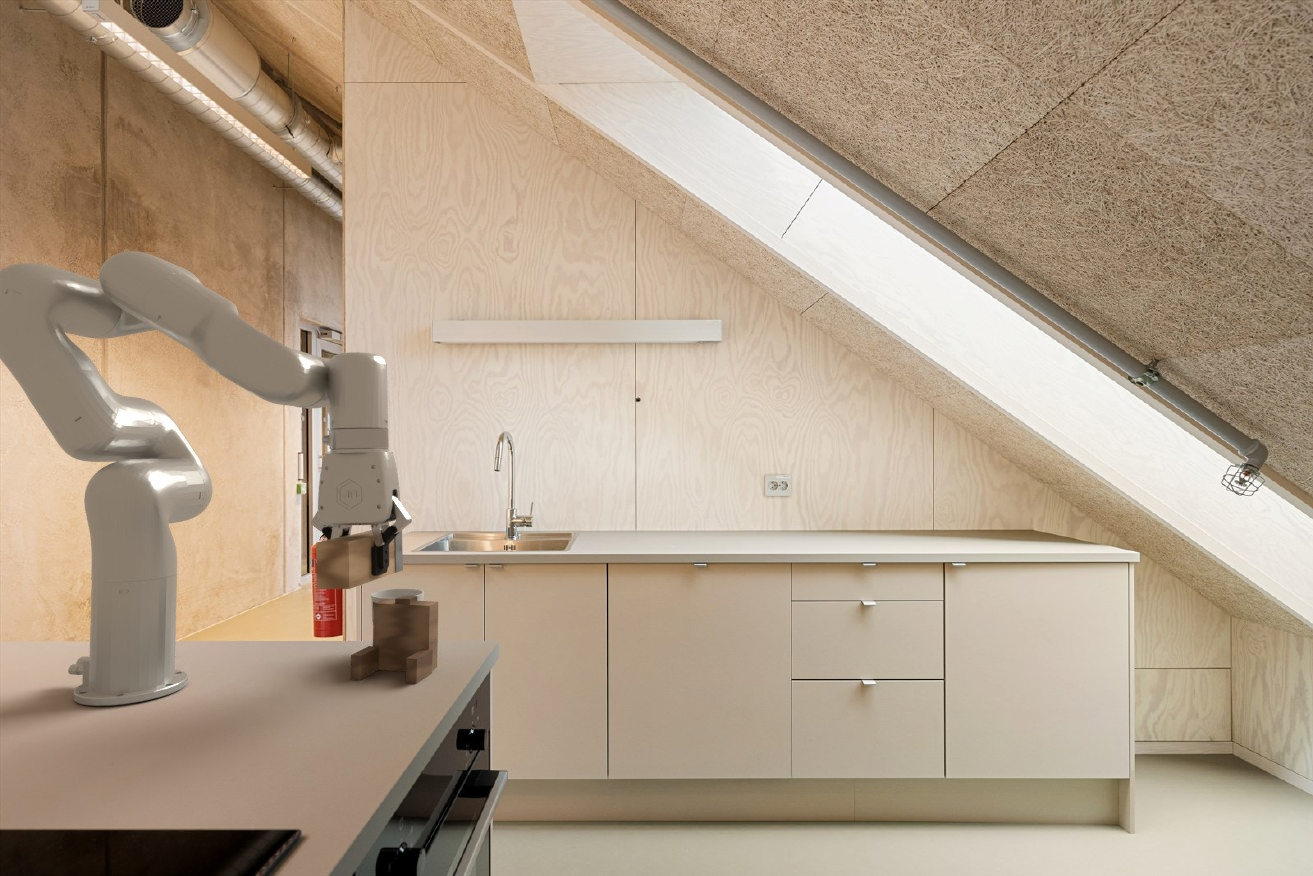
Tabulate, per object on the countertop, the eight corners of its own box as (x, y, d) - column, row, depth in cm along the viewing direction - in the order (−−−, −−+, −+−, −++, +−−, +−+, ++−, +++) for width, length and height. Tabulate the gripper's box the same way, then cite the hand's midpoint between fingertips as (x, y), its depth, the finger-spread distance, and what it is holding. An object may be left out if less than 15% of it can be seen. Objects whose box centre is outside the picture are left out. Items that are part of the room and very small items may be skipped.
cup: (359, 660, 115) (360, 596, 115) (386, 646, 123) (388, 587, 123) (407, 663, 113) (408, 599, 113) (431, 649, 121) (432, 589, 121)
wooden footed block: (350, 679, 105) (351, 604, 105) (378, 663, 113) (380, 593, 113) (416, 683, 104) (418, 607, 104) (440, 667, 112) (442, 596, 112)
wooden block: (315, 588, 94) (315, 542, 94) (372, 570, 108) (371, 530, 108) (350, 589, 93) (349, 542, 93) (402, 570, 107) (401, 529, 107)
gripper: (286, 444, 98) (288, 579, 98) (404, 440, 96) (406, 579, 96) (319, 444, 106) (321, 569, 105) (429, 441, 103) (432, 569, 103)
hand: (362, 572), depth 100 cm, fingers closed on wooden block, 4 cm apart
